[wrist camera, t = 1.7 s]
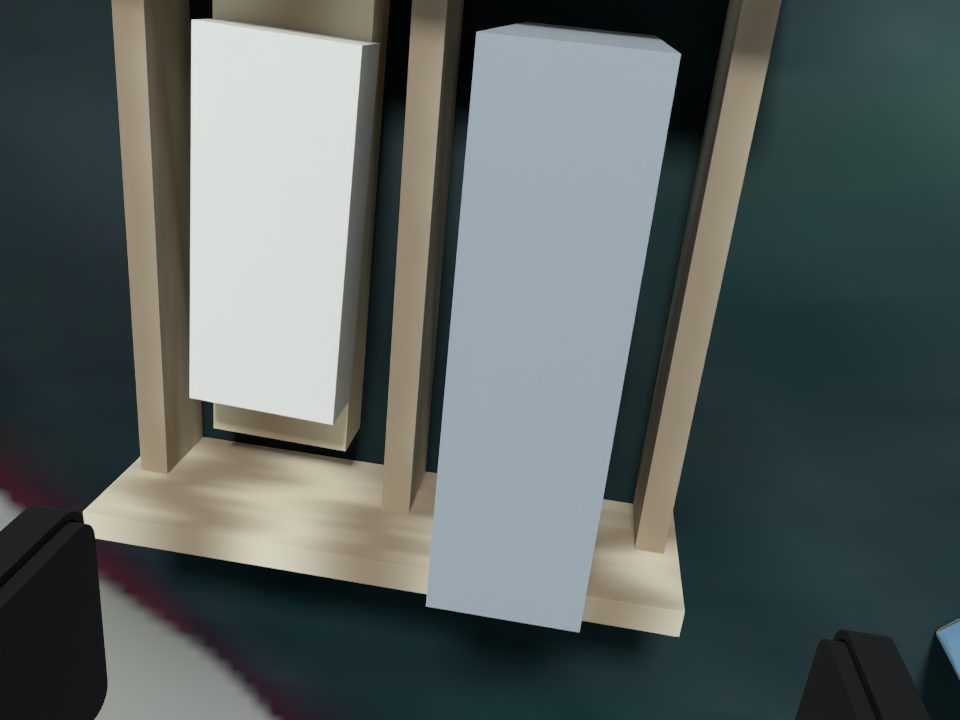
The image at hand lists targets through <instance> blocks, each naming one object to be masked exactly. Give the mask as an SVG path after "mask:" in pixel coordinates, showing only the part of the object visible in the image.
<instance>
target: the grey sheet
mask: <svg viewBox="0 0 960 720" xmlns="http://www.w3.org/2000/svg"><path fill="white" fill-rule="evenodd" d="M680 58H681V53H679V52H678V51H676V50H675V49H674V48H672V47H671V46H669V45H668V44H667V43H665V42H664V41H662V40H661V39H660V38H658V37H657V36H655V35H647V34H638V33H628V32H619V31H610V30H600V29H591V28H581V27H572V26H563V25H553V24H544V23H535V22H522V23H517V24H512V25H507V26H502V27H497V28H492V29H487V30H482V31H478V32H476V40H475V52H474V63H473V75H472V86H471V97H470V109H469V120H468V131H467V143H466V154H465V165H464V177H463V188H462V199H461V211H460V222H459V234H458V245H457V256H456V268H455V279H454V290H453V302H452V313H451V324H450V336H449V347H448V358H447V370H446V381H445V392H444V404H443V415H442V427H441V438H440V449H439V461H438V472H437V483H436V495H435V506H434V517H433V529H432V540H431V551H430V563H429V574H428V586H427V597H426V607H432V608H438V609H444V610H450V611H455V612H461V613H467V614H473V615H479V616H485V617H491V618H496V619H502V620H508V621H514V622H520V623H526V624H532V625H538V626H543V627H549V628H555V629H561V630H567V631H573V632H579V633H580V627H581V622H582V616H583V610H584V605H585V599H586V593H587V587H588V582H589V576H590V570H591V565H592V559H593V553H594V548H595V542H596V536H597V531H598V525H599V519H600V513H601V508H602V502H603V496H604V491H605V485H606V479H607V474H608V468H609V462H610V456H611V451H612V445H613V439H614V434H615V428H616V422H617V417H618V411H619V405H620V400H621V394H622V388H623V382H624V377H625V371H626V365H627V360H628V354H629V348H630V343H631V337H632V331H633V326H634V320H635V314H636V308H637V303H638V297H639V291H640V286H641V280H642V274H643V269H644V263H645V257H646V251H647V246H648V240H649V234H650V229H651V223H652V217H653V212H654V206H655V200H656V195H657V189H658V183H659V177H660V172H661V166H662V160H663V155H664V149H665V143H666V138H667V132H668V126H669V121H670V115H671V109H672V103H673V98H674V92H675V86H676V81H677V75H678V69H679V64H680Z"/></svg>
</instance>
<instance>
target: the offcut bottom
mask: <svg viewBox="0 0 960 720" xmlns="http://www.w3.org/2000/svg"><path fill="white" fill-rule="evenodd" d="M389 9H390V0H213V19H227V20H233V21H240V22H246V23H253V24H259V25H266V26H272V27H279V28H285V29H292V30H298V31H305V32H311V33H318V34H324V35H331V36H337V37H344V38H351V39H357V40H364V41H370V42H377V43H380V49H379V61H378V72H377V84H376V96H375V108H374V119H373V131H372V143H371V155H370V166H369V178H368V190H367V202H366V213H365V225H364V237H363V249H362V260H361V272H360V284H359V296H358V308H357V319H356V331H355V343H354V355H353V366H352V378H351V390H350V400H349V402H348V403H347V405H346V406H345V408H344V409H343V411H342V412H341V414H340V415H339V417H338V418H337V420H336V421H335V423H334V424H333V425H329V424H324V423H319V422H313V421H308V420H303V419H298V418H292V417H287V416H282V415H277V414H271V413H266V412H261V411H256V410H250V409H245V408H240V407H234V406H229V405H224V404H219V403H214V428H216V429H221V430H227V431H233V432H238V433H244V434H250V435H255V436H261V437H267V438H272V439H278V440H284V441H289V442H295V443H301V444H306V445H312V446H318V447H323V448H329V449H335V450H340V451H346V450H347V448H348V446H349V445H350V443H351V441H352V440H353V438H354V436H355V435H356V433H357V431H358V430H359V428H360V418H361V404H362V390H363V376H364V362H365V348H366V334H367V320H368V306H369V291H370V277H371V263H372V249H373V235H374V221H375V207H376V193H377V178H378V164H379V150H380V136H381V122H382V108H383V94H384V80H385V66H386V51H387V37H388V23H389Z"/></svg>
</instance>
